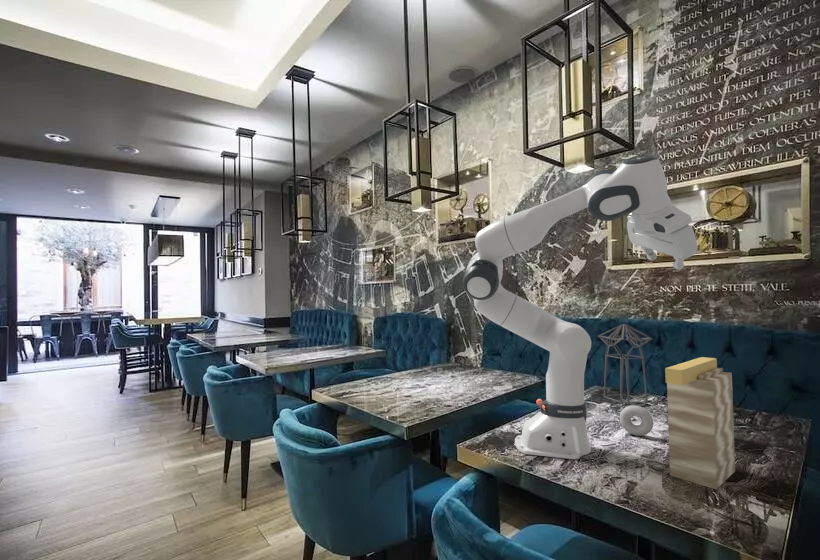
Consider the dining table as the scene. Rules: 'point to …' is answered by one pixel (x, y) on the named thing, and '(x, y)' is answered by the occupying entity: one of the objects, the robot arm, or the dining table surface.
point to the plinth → (702, 429)
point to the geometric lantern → (635, 336)
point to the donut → (642, 414)
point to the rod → (689, 370)
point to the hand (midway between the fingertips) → (665, 263)
